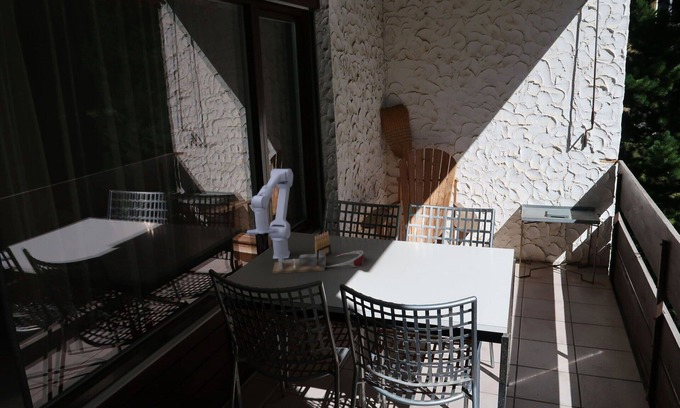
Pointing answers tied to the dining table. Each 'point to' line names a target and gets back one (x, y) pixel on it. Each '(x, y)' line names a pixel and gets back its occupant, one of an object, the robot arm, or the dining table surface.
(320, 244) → the ammunition clip
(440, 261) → the dining table surface
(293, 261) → the grey angular piece
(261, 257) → the dining table surface
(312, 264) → the frame
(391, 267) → the dining table surface
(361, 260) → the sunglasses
